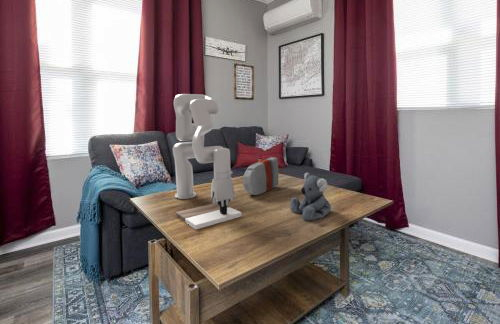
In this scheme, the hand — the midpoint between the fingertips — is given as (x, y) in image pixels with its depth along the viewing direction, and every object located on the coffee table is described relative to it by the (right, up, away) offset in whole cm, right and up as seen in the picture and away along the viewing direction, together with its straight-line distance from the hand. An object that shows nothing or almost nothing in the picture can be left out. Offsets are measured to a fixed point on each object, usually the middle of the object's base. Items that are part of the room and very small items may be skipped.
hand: (223, 213), depth 134 cm
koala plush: (+43, -1, +5) cm, 43 cm away
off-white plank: (-4, -2, -1) cm, 5 cm away
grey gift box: (+19, +6, +42) cm, 47 cm away
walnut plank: (-11, -1, +7) cm, 13 cm away
